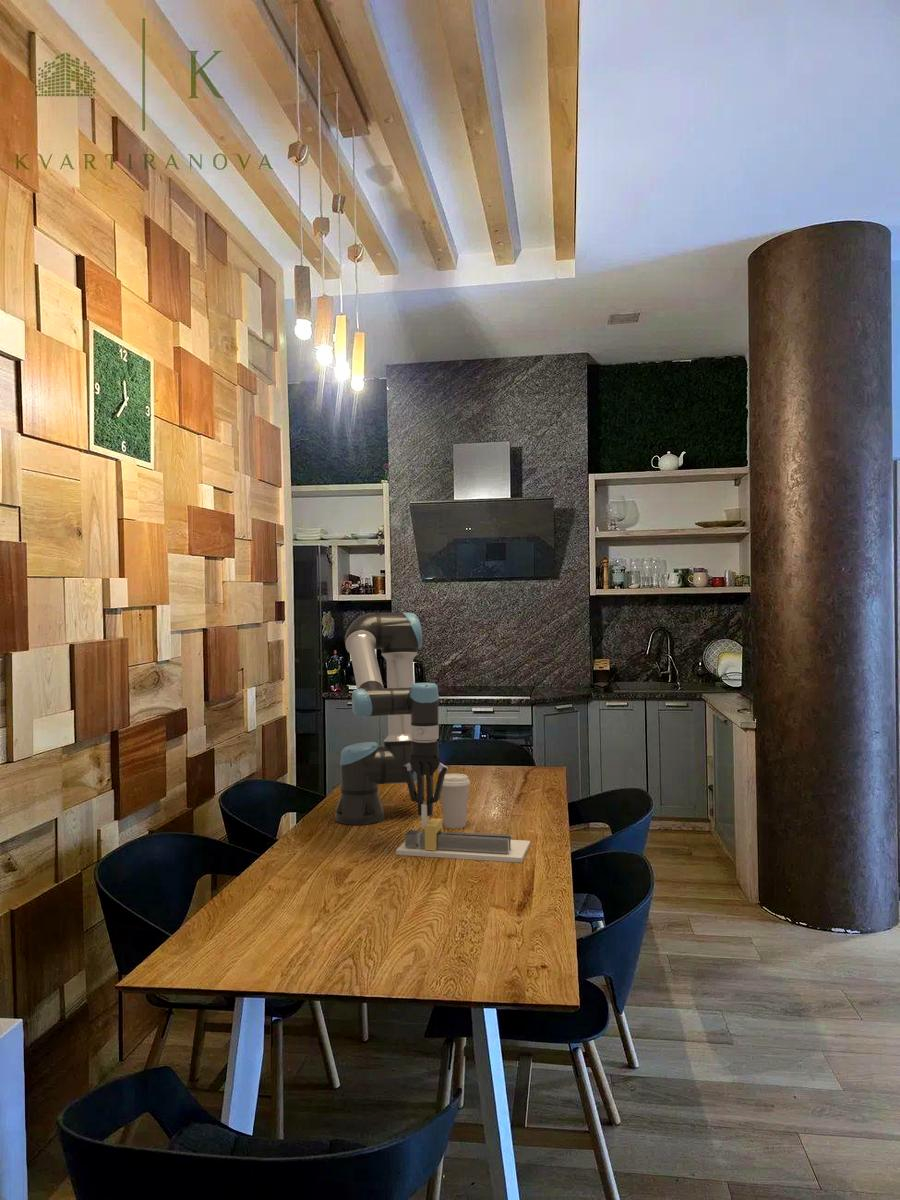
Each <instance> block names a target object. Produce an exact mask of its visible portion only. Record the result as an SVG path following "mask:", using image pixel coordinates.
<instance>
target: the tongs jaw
mask: <svg viewBox="0 0 900 1200" xmlns="http://www.w3.org/2000/svg"><path fill="white" fill-rule="evenodd" d="M421 833H425V830H423V831H422V832H421ZM437 834H445V835H463V836H481V837H499V838H509V850H510V849H511V840H512V834H510V833H509V834H506V833H505V834H504V833H487V832H486V833H483V832H482V833H481V832H479V833H478V832H464V831H463V832H459V831H458V832H457V831H442V832H440V831H438V833H437Z"/></svg>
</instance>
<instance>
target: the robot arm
mask: <svg viewBox="0 0 900 1200" xmlns="http://www.w3.org/2000/svg"><path fill="white" fill-rule="evenodd" d="M422 631H423V630H422V626H421V621H420V620H419V617H418V615H416V614H415V613H413V612H404V611H402V612H401V611H399V612H367V613H365V614H362V615H360V616H358V618H356V619H355V620H354V621H353V622H351V624H350V625H349V626H348V629H346V632H345V635H344V636H345V637H344V644H345V649H346V651H347V653H349V655H350V659H351V664H352V668H353V669H352V670H353V675H354V681H355V684H356V689H354V690H353V691H352V693H351V695H352V696H351V709H352V713H353V715H354V716H357V717H376V716H387V725H388V726H387V729H388V731H387V732H388V733H387V734H388V735H387V737H386V738H384V740H383V746H379V744H378V742H376V741H364V742H358V743H357V742H356V743H354V744H349V745H347V746H344V748H342V750H341V751H340V762H339V765H340V796H339V799H338V803H337V805H336V808H335V812H334V813H335V815H334V817H335V818H334V819H335V820H334V821H335V822H337V823H340V824H344V825H350V826H351V825H352V826H353V825H355V826H358V825H359V826H361V825H362V826H364V825H372V824H376V823H379V822H381V821H383V820H384V819H385V812H384V811H385V810H384V807H383V804H382V801H381V798H380V795H379V786H380V785H392V784H406V785H407V787H408V793H409V797H410V800H411V801H412V802H415V803H417V815H418V816H421V830H422V829H423V830H425V825H426V824H427V823H428V822H429V821H430V817H431V816H433V814H434V810H433V809H434V807H433V806H434V805H433V804H435V803H437V802H439V800H440V798H441V790H442V786H443V781H444V777H445V774H447V773H448V771H449V770H450V769H449V768H450V767H449V766H448V765H444V763H442V762H441V759H440V757H439V756H440V754H439V753H440V752H439V751H440V747H439V744H440V742H439V741H438V739H439V738H440V736H439V735H440V734H439V731H440V730H439V698H440V695H439V687H438V685H437V684H436V683H433V682H416V683H414V658H415V657H416V656H417V655H418V649H421V648H422V646H423V632H422ZM376 650H381V656H382V657H383V658H384V659H385V661H386V685H387V686H386V687H387V688H385V687H384V684H383V679H382V675H381V671H380V666H379V662H378V659H377V658H378V657H377V654H376ZM437 769H438V773H439V774H438V777H437V781H436V785H435V789H434V774H435V772H436V771H437ZM425 779H426V781H425ZM425 782H426V787H425ZM415 783H417V785H415ZM416 786H417V787H416ZM425 788H426V802H425Z"/></svg>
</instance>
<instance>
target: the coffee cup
mask: <svg viewBox="0 0 900 1200" xmlns="http://www.w3.org/2000/svg"><path fill="white" fill-rule="evenodd" d="M470 784H471V781H470V779H469V777H468V775H467V774H464V773H446V774H445V777H444V781H443V786H442V790H441V794H440V798H441V804H442V805H441V807H442V816H443V818H442V819H443V827H444V828H447V829H450V828H451V829H452V830H453V829H454V830H456V829H457V830H459V829H463V827H464V828H465V827H466V825H467V814H468V813H467V811H468V800H469V799H468V797H469V786H470Z"/></svg>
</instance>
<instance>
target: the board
mask: <svg viewBox="0 0 900 1200" xmlns="http://www.w3.org/2000/svg"><path fill="white" fill-rule="evenodd" d="M530 847H531V840H524V839H523V840H522V839H511V849H510V850H509V853H508V854H507V853H491V852H474V851H458V850H441V849H437V850H436V851H433V850H425V848H420V844H419V845H418V846H417V847H416V848H408V847H405V841H404V842H402V844H401V845H400V846H399V847H397V849H395V855H397V856H412V857H413V856H414V857H428V858H441V859H456V860H457V859H458V860H473V861H474V860H475V861H488V862H504V863H505V862H506V863H523V861H524V860H525V857H526V855H527V853H528V851H529V849H530Z"/></svg>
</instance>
